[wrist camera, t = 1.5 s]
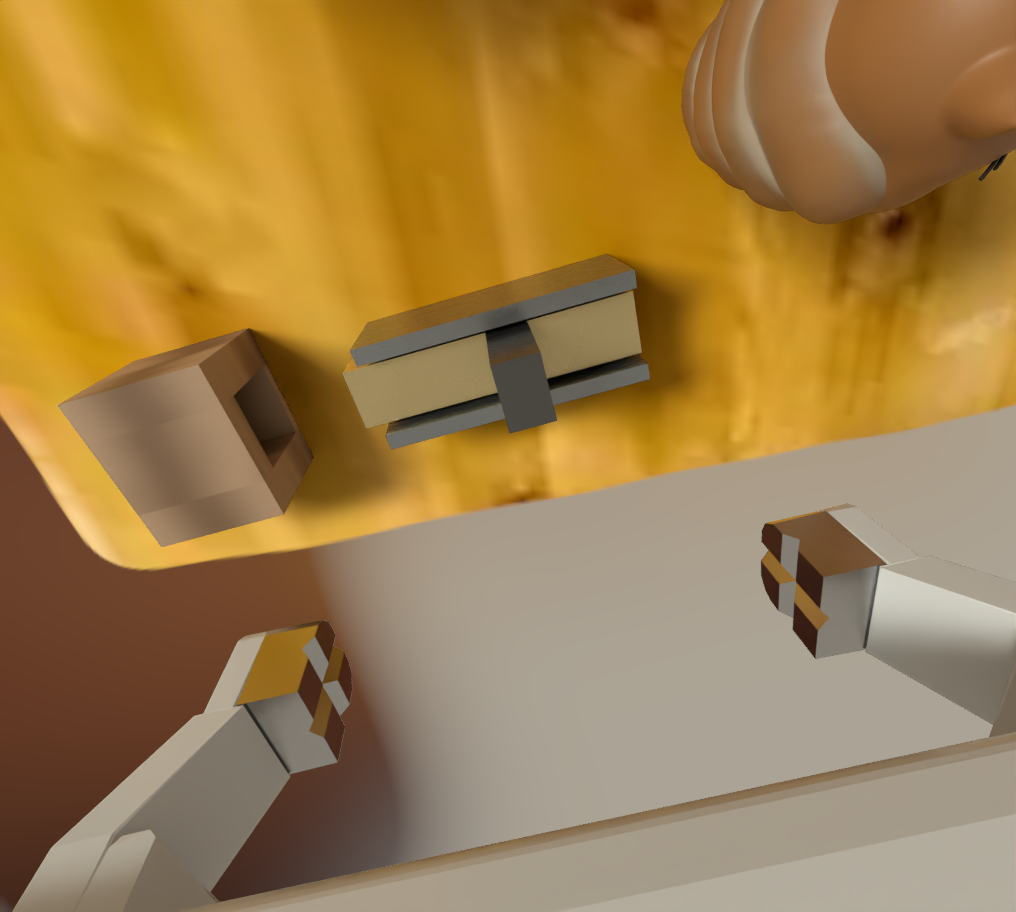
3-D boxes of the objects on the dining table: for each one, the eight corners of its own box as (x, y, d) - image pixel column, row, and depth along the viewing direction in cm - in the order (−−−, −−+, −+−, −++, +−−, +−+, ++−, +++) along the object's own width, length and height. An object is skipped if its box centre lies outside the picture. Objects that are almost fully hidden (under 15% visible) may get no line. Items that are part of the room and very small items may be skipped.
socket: (248, 328, 28) (197, 364, 23) (313, 457, 32) (283, 514, 26) (133, 361, 28) (57, 405, 23) (211, 485, 32) (161, 547, 27)
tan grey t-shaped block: (616, 279, 27) (668, 315, 20) (625, 335, 28) (677, 388, 21) (353, 354, 28) (317, 414, 21) (375, 405, 29) (348, 477, 22)
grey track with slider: (607, 253, 27) (634, 269, 23) (622, 348, 30) (649, 378, 25) (367, 322, 28) (350, 350, 24) (401, 409, 31) (391, 449, 26)
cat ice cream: (697, 235, 27) (1020, 321, 12) (588, 120, 25) (815, 24, 9) (840, 75, 25) (1530, -103, 9) (735, -76, 22) (1466, -741, 6)
